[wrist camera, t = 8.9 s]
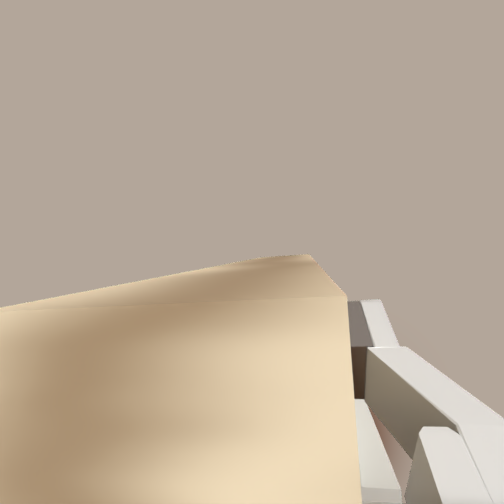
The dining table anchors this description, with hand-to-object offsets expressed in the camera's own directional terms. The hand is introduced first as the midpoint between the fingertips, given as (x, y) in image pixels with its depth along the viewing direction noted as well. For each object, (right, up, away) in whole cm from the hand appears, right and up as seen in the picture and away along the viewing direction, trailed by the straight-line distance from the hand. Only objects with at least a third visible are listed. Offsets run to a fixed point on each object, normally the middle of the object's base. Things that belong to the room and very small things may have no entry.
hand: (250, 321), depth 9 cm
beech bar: (+1, -2, +5) cm, 6 cm away
